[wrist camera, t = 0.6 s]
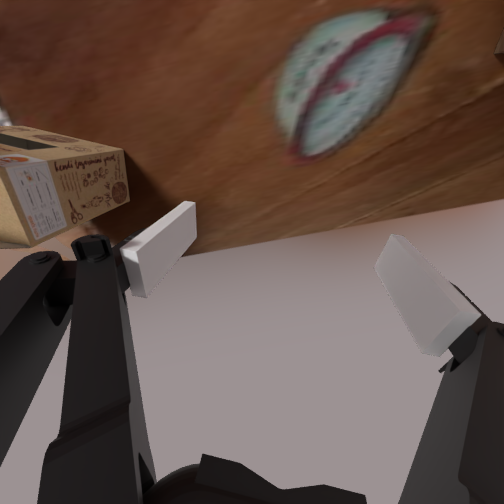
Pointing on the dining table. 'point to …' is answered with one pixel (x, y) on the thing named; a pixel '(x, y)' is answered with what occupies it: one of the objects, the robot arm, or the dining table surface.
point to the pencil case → (500, 44)
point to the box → (54, 184)
